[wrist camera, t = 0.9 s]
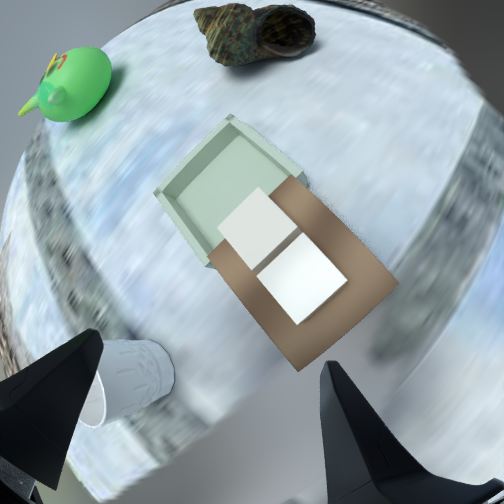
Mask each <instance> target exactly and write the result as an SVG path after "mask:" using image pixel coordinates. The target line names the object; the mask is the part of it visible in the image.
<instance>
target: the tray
mask: <svg viewBox="0 0 504 504" xmlns="http://www.w3.org/2000/svg"><path fill="white" fill-rule="evenodd" d="M291 174H292V175H293V176H294V177H295V178H296V179H297V180H298V181H299V182H301V183H302V184H303V185H304V186H305V187H306V188H307V187H308V186H309V183H308V181H307V179H306V176H305V174H304V172H303V170H302V169H300V168H299V167H298V166H297V165H296V164H295V163H293V162H292V161H291V160H290V159H289V158H287V157H286V156H285V155H284V154H283V153H281V152H280V151H279V150H278V149H276V148H275V147H274V146H273V145H272V144H270V143H269V142H268V141H267V140H265V139H264V138H263V137H261V136H260V135H259V134H258V133H256V132H255V131H254V130H252V129H251V128H250V127H248V126H247V125H246V124H244V123H243V122H242V121H240V120H239V119H238V118H236V117H235V116H234V115H232V114H230V115H228V116H227V117H226V118H225V119H224V120H223V121H222V122H221V123H220V124H219V125H218V126H217V127H216V128H214V129H213V130H212V131H211V132H210V133H209V134H208V135H207V136H206V137H205V138H204V139H203V140H202V141H201V142H200V143H199V144H198V145H197V146H196V147H195V148H194V149H193V150H192V151H191V152H190V153H189V154H188V155H187V156H186V157H185V158H184V159H183V160H182V162H181V163H180V164H179V165H178V166H177V167H176V168H175V169H174V170H173V171H172V172H171V173H170V174H169V176H168V177H167V178H166V179H165V180H164V181H163V182H162V183H161V184H160V186H159V187H158V188H157V189H156V190H155V191H154V192H153V193H154V195H155V196H156V198H157V199H158V201H159V202H160V204H161V205H162V207H163V208H164V210H165V211H166V213H167V214H168V216H169V217H170V219H171V220H172V221H173V223H174V224H175V226H176V227H177V229H178V230H179V231H180V233H181V234H182V236H183V237H184V239H185V240H186V241H187V243H188V244H189V246H190V247H191V249H192V250H193V251H194V253H195V254H196V255H197V257H198V258H199V260H200V261H201V262H202V264H203V265H204V267H209V268H213V269H216V268H215V267H214V266H213V264H212V263H211V262H210V260H209V259H208V258H207V256H208V255H209V254H210V253H211V252H212V251H213V250H214V249H215V248H216V247H217V246H218V245H219V244H220V243H221V242H222V241H223V240H224V239H225V237H224V236H223V235H222V233H221V232H220V231H219V230H218V229H217V227H218V226H219V225H220V224H221V223H222V222H223V221H224V220H225V219H226V218H227V217H228V216H229V215H230V214H231V213H232V212H233V211H234V210H235V209H236V208H237V207H238V206H239V205H240V204H241V203H242V202H243V201H244V200H245V199H246V198H247V197H248V196H249V195H250V194H251V193H252V192H253V191H254V190H255V189H256V188H257V187H259V188H260V189H261V190H262V191H263V192H264V193H265V194H266V195H267V196H268V195H270V194H271V193H272V192H273V191H274V190H275V189H276V188H277V187H278V186H279V185H280V184H281V183H282V182H283V181H284V180H285V179H286V178H287V177H288V176H289V175H291Z"/></svg>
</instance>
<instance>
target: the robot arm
mask: <svg viewBox="0 0 504 504" xmlns="http://www.w3.org/2000/svg"><path fill="white" fill-rule="evenodd" d="M103 349H104V343H103V341H102V338H101V336H100V333H99V331H98V330H96V329H92V328H89V329H87V330H85V331H84V332H82V333H80V334H79V335H77V336H75V337H74V338H72V339H71V340H69V341H67V342H66V343H64V344H62V345H61V346H59V347H58V348H56V349H54V350H53V351H51V352H50V353H48V354H46V355H45V356H43V357H42V358H40V359H38V360H37V361H35V362H34V363H32V364H30V365H29V366H27V367H26V368H24V369H23V370H21V371H19V372H18V373H16V374H14V375H12V376H10V377H9V378H7V379H5V380H3V381H1V382H0V504H43V502H42V500H41V497H40V495H39V492H38V490H37V487H36V486H35V483H36V480H37V481H39V482H41V483H42V484H44V485H46V486H48V487H50V488H51V489H53V490H55V491H56V489H57V486H58V483H59V479H60V475H61V472H62V468H63V465H64V461H65V458H66V454H67V451H68V448H69V445H70V442H71V439H72V436H73V433H74V430H75V427H76V424H77V422H78V419H79V416H80V413H81V411H82V408H83V405H84V403H85V400H86V398H87V395H88V393H89V390H90V388H91V385H92V383H93V380H94V378H95V375H96V371H97V368H98V365H99V362H100V358H101V355H102V352H103ZM320 418H321V428H322V437H323V446H324V457H325V468H326V480H327V494H328V504H488V500H489V499H491V498H492V497H494V496H495V495H497V494H498V493H500V492H501V491H502V490H504V482H503V481H501V480H499V479H496V478H493V479H491V480H490V481H488V482H486V483H485V484H482V485H470V484H465V483H461V482H457V481H453V480H450V479H446V478H443V477H439V476H436V475H434V474H432V473H430V472H429V471H427V470H426V469H425V468H424V467H423V466H422V465H421V464H420V463H419V462H418V461H417V460H416V459H415V458H414V457H413V456H412V455H411V454H410V453H409V452H408V451H407V450H406V449H405V448H404V447H403V446H402V445H401V444H400V442H399V441H398V440H397V439H396V438H395V436H394V435H393V434H392V433H391V431H390V430H389V429H388V427H387V426H385V424H384V422H383V421H382V420H381V418H380V417H379V416H378V414H377V413H376V412H375V410H374V409H373V408H372V406H371V405H370V404H369V403H368V401H367V400H366V398H365V397H364V396H363V394H362V393H361V392H360V391H359V389H358V388H357V387H356V385H355V384H354V383H353V381H352V380H351V379H350V377H349V376H348V375H347V373H346V372H345V371H344V370H343V368H342V367H341V366H340V364H339V363H338V362H337V361H326V362H325V364H324V367H323V369H322V372H321V375H320ZM489 504H504V496H503V497H501V498H499V499H497V500H495V501H493V502H491V503H489Z"/></svg>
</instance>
